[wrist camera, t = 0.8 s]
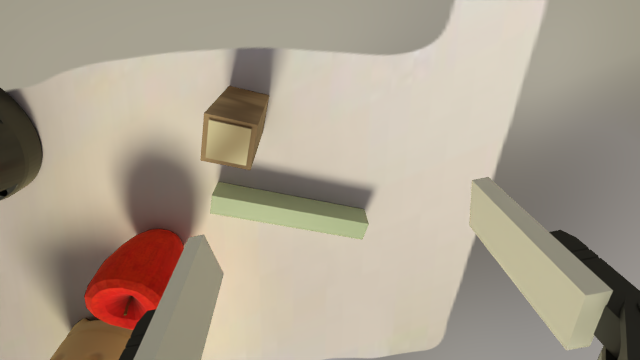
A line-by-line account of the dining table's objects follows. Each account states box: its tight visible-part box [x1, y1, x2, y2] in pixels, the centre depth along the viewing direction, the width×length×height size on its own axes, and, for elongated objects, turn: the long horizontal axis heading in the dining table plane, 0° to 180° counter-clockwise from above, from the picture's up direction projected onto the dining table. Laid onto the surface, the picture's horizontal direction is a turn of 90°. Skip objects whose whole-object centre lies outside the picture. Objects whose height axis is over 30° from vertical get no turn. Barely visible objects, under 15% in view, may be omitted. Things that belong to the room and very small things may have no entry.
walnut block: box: [201, 86, 269, 170], centre depth 28 cm, size 4×4×9 cm
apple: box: [84, 229, 184, 330], centre depth 36 cm, size 9×9×11 cm
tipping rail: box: [210, 182, 369, 239], centre depth 37 cm, size 18×2×3 cm, turn 76°
